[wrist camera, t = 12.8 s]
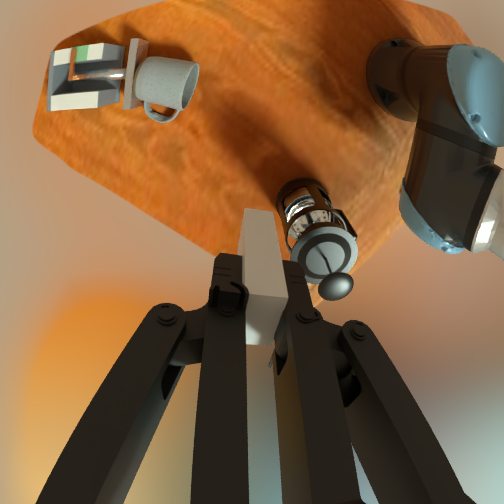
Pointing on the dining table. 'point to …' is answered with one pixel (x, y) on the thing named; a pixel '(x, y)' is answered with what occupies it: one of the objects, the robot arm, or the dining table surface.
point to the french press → (319, 238)
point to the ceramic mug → (165, 84)
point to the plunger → (115, 71)
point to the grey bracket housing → (84, 93)
